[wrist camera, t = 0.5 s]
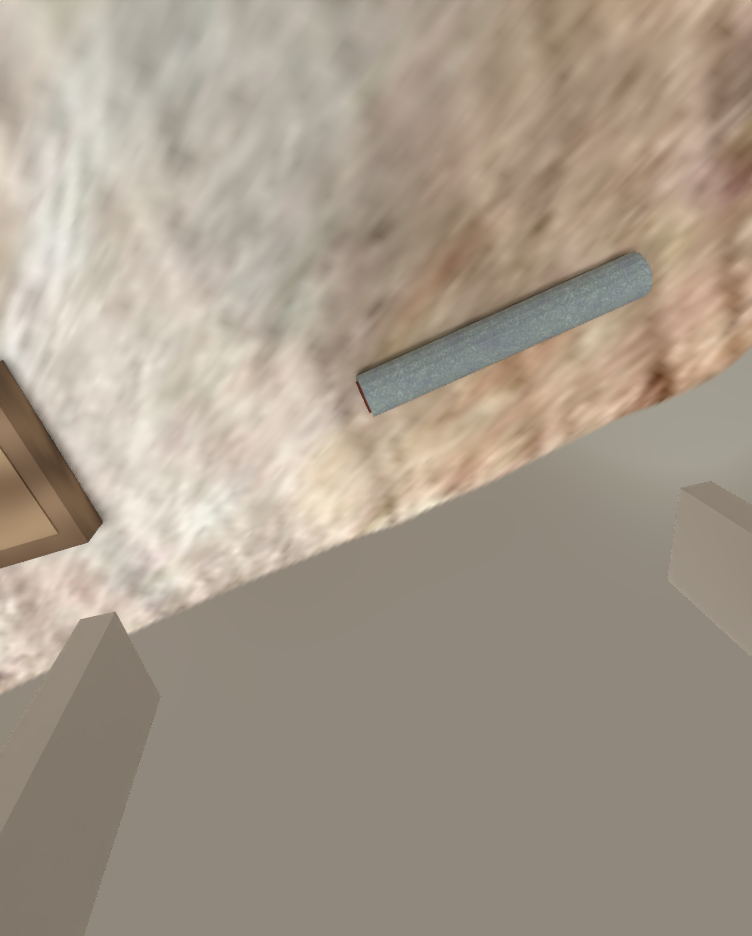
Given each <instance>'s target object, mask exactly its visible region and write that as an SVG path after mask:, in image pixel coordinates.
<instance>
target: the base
mask: <svg viewBox="0 0 752 936" xmlns="http://www.w3.org/2000/svg"><path fill="white" fill-rule="evenodd" d="M102 523H103V522H102V520H101V518H100V517H99V515H98V513H97V512H96V510H95V509H94V507H93V505H92V504H91V502H90V500H89V499H88V497H87V496H86V494H85V492H84V491H83V489H82V488H81V486H80V484H79V483H78V481H77V479H76V478H75V476H74V475H73V473H72V471H71V470H70V468H69V467H68V465H67V463H66V462H65V460H64V458H63V457H62V455H61V454H60V452H59V450H58V449H57V447H56V446H55V444H54V442H53V441H52V439H51V437H50V436H49V434H48V433H47V431H46V429H45V428H44V426H43V425H42V423H41V421H40V420H39V418H38V416H37V415H36V413H35V412H34V410H33V408H32V407H31V405H30V404H29V402H28V400H27V399H26V397H25V395H24V394H23V392H22V391H21V389H20V387H19V386H18V384H17V382H16V381H15V379H14V378H13V376H12V374H11V373H10V371H9V370H8V368H7V366H6V365H5V363H4V361H3V360H1V361H0V568H3V567H7V566H10V565H14V564H17V563H20V562H24V561H27V560H31V559H34V558H37V557H41V556H44V555H47V554H51V553H54V552H58V551H61V550H64V549H68V548H71V547H75V546H78V545H81V544H85V543H88V542H89V541H90V539H91V538H92V537H93V535H94V534H95V532H96V531H97V530H98V528H99V527H100V526H101V524H102Z"/></svg>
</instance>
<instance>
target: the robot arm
mask: <svg viewBox="0 0 752 936" xmlns="http://www.w3.org/2000/svg"><path fill="white" fill-rule="evenodd" d="M668 581H669V582H670V583H671V584H672V585H674V586H675V587H676V588H677V589H678V590H679V591H680V592H681V593H682V594H683V595H684V596H686V597H687V598H688V599H689V600H690V601H691V602H692V603H693V604H694V605H695V606H697V608H699V609H700V610H701V611H702V612H703V613H704V614H705V615H706V616H707V617H708V618H709V619H710V620H712V621H713V622H714V623H715V624H716V625H717V626H718V627H719V628H720V629H721V630H723V632H725V633H726V634H727V635H728V636H729V637H730V638H731V639H732V640H733V641H734V642H736V644H738V645H739V646H740V647H741V648H742V649H743V650H744V651H746V653H747V654H748V655H750V656H751V657H752V505H751V504H750V503H748V502H746V501H744V500H743V499H741V498H739V497H737V496H736V495H734V494H732V493H731V492H729V491H727V490H725V489H724V488H722V487H720V486H719V485H717V484H715V483H713V482H711V481H710V482H705V483H701V484H697V485H692V486H687V487H682V488H680V493H679V501H678V508H677V515H676V523H675V531H674V537H673V545H672V552H671V559H670V567H669V574H668ZM160 697H161V696H160V694H159V692H158V690H157V688H156V686H155V684H154V683H153V681H152V679H151V677H150V675H149V673H148V672H147V670H146V668H145V666H144V664H143V662H142V660H141V658H140V657H139V655H138V653H137V651H136V649H135V647H134V645H133V644H132V642H131V640H130V638H129V636H128V634H127V632H126V630H125V629H124V627H123V625H122V623H121V621H120V619H119V617H118V616H117V614H116V612H112V613H107V614H103V615H98V616H93V617H89V618H84V619H80V621H79V622H78V624H77V626H76V627H75V629H74V631H73V632H72V634H71V636H70V637H69V639H68V641H67V642H66V644H65V646H64V647H63V649H62V651H61V652H60V654H59V656H58V657H57V659H56V661H55V662H54V664H53V666H52V667H51V669H50V671H49V672H48V674H47V676H46V677H45V679H44V680H43V682H42V684H41V685H40V687H39V689H38V690H37V692H36V694H35V696H34V697H33V699H32V700H31V702H30V704H29V706H28V707H27V709H26V710H25V712H24V714H23V716H22V717H21V719H20V720H19V722H18V724H17V725H16V727H15V729H14V730H13V732H12V734H11V735H10V737H9V739H8V740H7V742H6V744H5V745H4V747H3V749H2V750H1V752H0V936H84V934H85V931H86V928H87V925H88V922H89V919H90V915H91V913H92V910H93V906H94V903H95V900H96V897H97V894H98V891H99V887H100V885H101V881H102V878H103V875H104V872H105V869H106V866H107V863H108V859H109V856H110V853H111V850H112V847H113V844H114V841H115V838H116V835H117V831H118V828H119V825H120V822H121V819H122V816H123V813H124V810H125V806H126V803H127V800H128V797H129V794H130V791H131V788H132V785H133V782H134V778H135V775H136V772H137V769H138V766H139V763H140V760H141V757H142V753H143V750H144V747H145V744H146V741H147V737H148V735H149V732H150V728H151V725H152V722H153V719H154V716H155V713H156V710H157V706H158V703H159V700H160Z"/></svg>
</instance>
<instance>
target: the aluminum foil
mask: <svg viewBox="0 0 752 936" xmlns="http://www.w3.org/2000/svg"><path fill="white" fill-rule="evenodd" d="M651 286H652V274H651V270H650V267H649V265H648V263H647V261H646V259H645V258H644V257H643V256H642V255H641V254H639V253H636V252H631V253H628V254H626V255H624V256H622V257H619V258H617V259H615V260H613V261H610V262H608V263H606V264H604V265H602V266H599V267H597V268H595V269H593V270H590V271H588V272H586V273H584V274H582V275H579V276H577V277H575V278H573V279H571V280H568V281H566V282H564V283H562V284H559V285H557V286H555V287H553V288H551V289H548V290H546V291H544V292H542V293H539V294H537V295H535V296H533V297H531V298H528V299H526V300H524V301H522V302H520V303H517V304H515V305H513V306H511V307H508V308H506V309H504V310H502V311H500V312H497V313H495V314H493V315H491V316H488V317H486V318H484V319H482V320H480V321H477V322H475V323H473V324H471V325H468V326H466V327H464V328H462V329H460V330H457V331H455V332H453V333H451V334H449V335H446V336H444V337H442V338H440V339H437V340H435V341H433V342H431V343H429V344H426V345H424V346H422V347H420V348H417V349H415V350H413V351H411V352H409V353H406V354H404V355H402V356H400V357H398V358H395V359H393V360H391V361H389V362H386V363H384V364H382V365H380V366H378V367H375V368H373V369H371V370H369V371H366V372H364V373H362V374H360V375H358V376H356V377H357V380H358V381H357V382H356V384H357V386H358V388H359V391H360V393H361V395H362V397H363V400H364V402H365V404H366V406H367V409H368V411H369V413H371V412H372V414H373V416H374V417H375V416H377V415H379V414H381V413H384V412H386V411H388V410H390V409H393V408H395V407H397V406H399V405H402V404H404V403H406V402H408V401H411V400H413V399H415V398H417V397H420V396H422V395H424V394H426V393H429V392H431V391H433V390H435V389H438V388H440V387H442V386H444V385H447V384H449V383H451V382H453V381H456V380H458V379H460V378H462V377H464V376H467V375H469V374H471V373H473V372H476V371H478V370H480V369H482V368H485V367H487V366H489V365H491V364H494V363H496V362H498V361H500V360H503V359H505V358H507V357H509V356H512V355H514V354H516V353H518V352H521V351H523V350H525V349H527V348H530V347H532V346H534V345H536V344H539V343H541V342H543V341H545V340H548V339H550V338H552V337H554V336H557V335H559V334H561V333H563V332H566V331H568V330H570V329H572V328H575V327H577V326H579V325H581V324H584V323H586V322H588V321H590V320H592V319H595V318H597V317H599V316H601V315H604V314H606V313H608V312H610V311H613V310H615V309H617V308H619V307H622V306H624V305H626V304H628V303H631V302H633V301H635V300H637V299H640V298H642V297H644V296H646V295H647V294H648V293H649V292H650V289H651Z"/></svg>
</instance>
